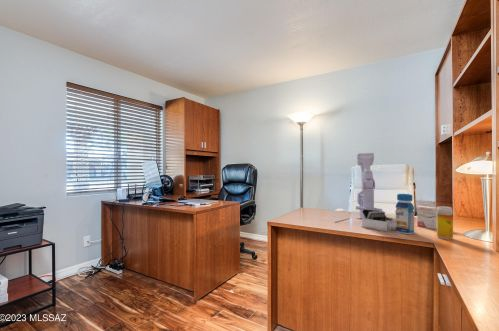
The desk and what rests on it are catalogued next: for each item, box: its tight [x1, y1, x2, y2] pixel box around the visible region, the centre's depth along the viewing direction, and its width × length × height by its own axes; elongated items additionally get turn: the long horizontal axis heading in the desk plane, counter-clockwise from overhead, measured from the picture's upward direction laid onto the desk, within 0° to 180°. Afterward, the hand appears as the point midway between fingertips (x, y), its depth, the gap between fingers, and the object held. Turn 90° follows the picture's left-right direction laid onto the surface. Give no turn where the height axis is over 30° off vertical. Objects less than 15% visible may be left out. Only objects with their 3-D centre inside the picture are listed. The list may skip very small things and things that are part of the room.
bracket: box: [361, 216, 396, 232], centre depth 138 cm, size 14×13×6 cm
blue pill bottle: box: [394, 193, 415, 235], centre depth 127 cm, size 8×8×20 cm
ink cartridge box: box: [416, 200, 437, 230], centre depth 138 cm, size 9×5×15 cm, turn 47°
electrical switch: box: [367, 210, 387, 221], centre depth 138 cm, size 9×5×9 cm, turn 95°
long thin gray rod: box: [334, 217, 350, 224], centre depth 155 cm, size 18×1×1 cm, turn 130°
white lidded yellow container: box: [436, 205, 454, 241], centre depth 116 cm, size 6×6×15 cm
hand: (368, 223), depth 143 cm, fingers closed
